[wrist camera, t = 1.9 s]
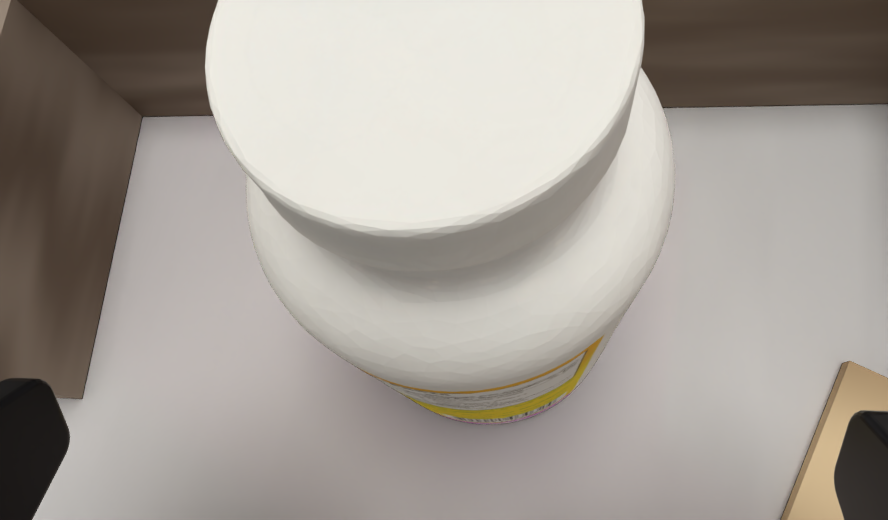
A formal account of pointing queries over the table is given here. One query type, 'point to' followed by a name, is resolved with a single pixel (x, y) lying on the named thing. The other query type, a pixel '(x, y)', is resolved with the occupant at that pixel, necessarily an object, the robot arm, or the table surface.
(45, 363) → the cubby
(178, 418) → the table surface
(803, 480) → the coaster
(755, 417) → the table surface
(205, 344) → the table surface
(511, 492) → the table surface
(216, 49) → the supplement bottle
